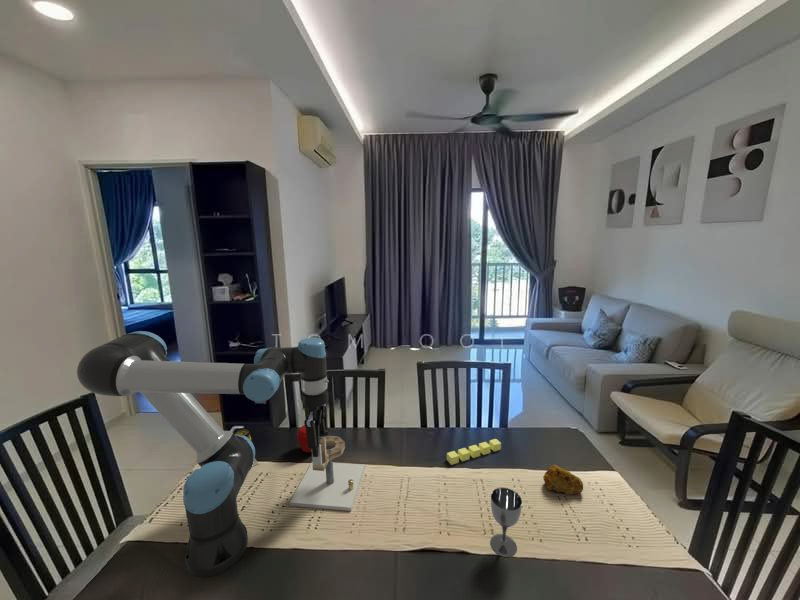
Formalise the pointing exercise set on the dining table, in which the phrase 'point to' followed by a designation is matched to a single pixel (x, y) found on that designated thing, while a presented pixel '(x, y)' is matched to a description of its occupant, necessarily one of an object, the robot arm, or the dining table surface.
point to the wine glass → (505, 519)
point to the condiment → (246, 434)
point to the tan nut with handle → (332, 452)
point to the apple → (303, 439)
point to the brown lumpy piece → (562, 481)
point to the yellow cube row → (473, 451)
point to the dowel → (350, 484)
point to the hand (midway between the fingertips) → (319, 459)
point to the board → (329, 487)
